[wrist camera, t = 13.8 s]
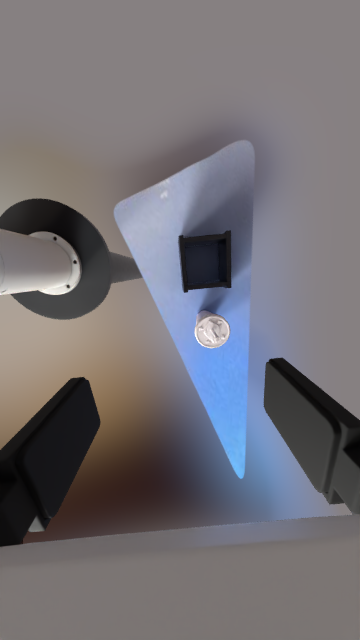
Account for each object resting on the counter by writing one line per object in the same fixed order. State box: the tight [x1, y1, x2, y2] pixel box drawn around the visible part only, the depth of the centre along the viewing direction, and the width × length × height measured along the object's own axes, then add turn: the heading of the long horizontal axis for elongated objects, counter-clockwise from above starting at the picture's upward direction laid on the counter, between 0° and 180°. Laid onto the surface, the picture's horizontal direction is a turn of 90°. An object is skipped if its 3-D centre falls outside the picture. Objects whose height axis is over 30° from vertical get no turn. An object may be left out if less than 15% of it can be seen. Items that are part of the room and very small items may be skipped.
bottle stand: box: [178, 231, 231, 293], centre depth 33 cm, size 9×10×6 cm
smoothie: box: [195, 310, 230, 348], centre depth 33 cm, size 6×6×14 cm
